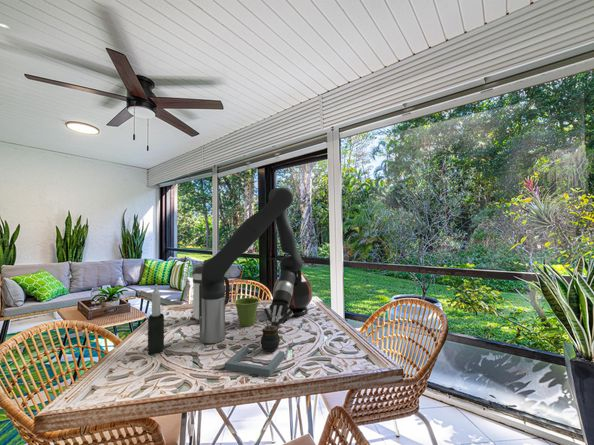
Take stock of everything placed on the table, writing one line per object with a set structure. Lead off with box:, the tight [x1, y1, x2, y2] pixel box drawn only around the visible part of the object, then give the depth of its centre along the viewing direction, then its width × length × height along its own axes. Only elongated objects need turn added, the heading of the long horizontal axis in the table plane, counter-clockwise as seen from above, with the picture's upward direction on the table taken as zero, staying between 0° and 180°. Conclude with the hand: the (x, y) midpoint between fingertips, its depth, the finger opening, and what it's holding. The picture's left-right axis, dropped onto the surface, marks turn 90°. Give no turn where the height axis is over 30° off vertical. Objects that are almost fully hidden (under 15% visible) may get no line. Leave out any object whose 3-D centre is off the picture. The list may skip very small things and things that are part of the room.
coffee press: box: [189, 259, 230, 325], centre depth 142 cm, size 17×16×30 cm
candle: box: [147, 283, 165, 356], centre depth 105 cm, size 5×5×25 cm
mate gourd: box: [260, 319, 281, 352], centre depth 106 cm, size 7×8×10 cm
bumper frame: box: [224, 346, 286, 377], centre depth 95 cm, size 16×13×2 cm
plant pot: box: [234, 297, 260, 328], centre depth 133 cm, size 12×12×11 cm
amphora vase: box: [272, 260, 313, 317], centre depth 152 cm, size 22×22×28 cm
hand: (273, 332), depth 109 cm, fingers closed
